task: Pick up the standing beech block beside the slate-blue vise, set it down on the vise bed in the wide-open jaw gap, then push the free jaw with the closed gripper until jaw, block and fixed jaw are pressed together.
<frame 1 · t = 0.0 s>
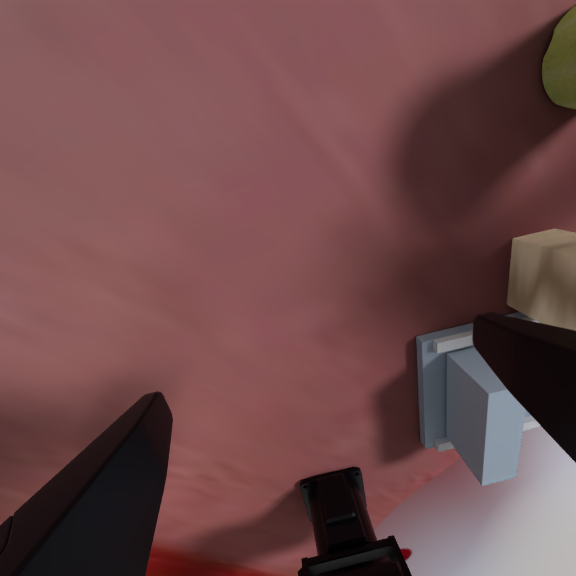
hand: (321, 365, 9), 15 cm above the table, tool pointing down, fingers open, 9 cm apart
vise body: (547, 361, 29), on the table
free jaw: (483, 413, 26), point 4 cm above the table, slide at 0.0 cm
block: (529, 268, 25), on the table
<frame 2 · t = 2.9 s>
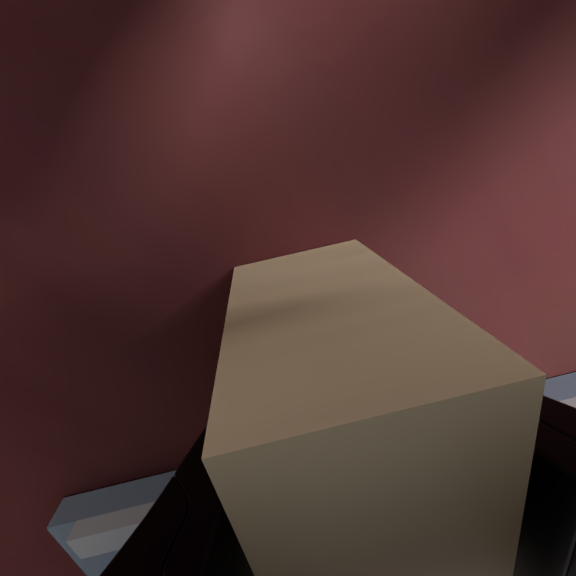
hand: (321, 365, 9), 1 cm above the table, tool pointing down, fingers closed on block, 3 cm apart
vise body: (415, 518, 14), on the table
block: (313, 341, 10), on the table, touching gripper
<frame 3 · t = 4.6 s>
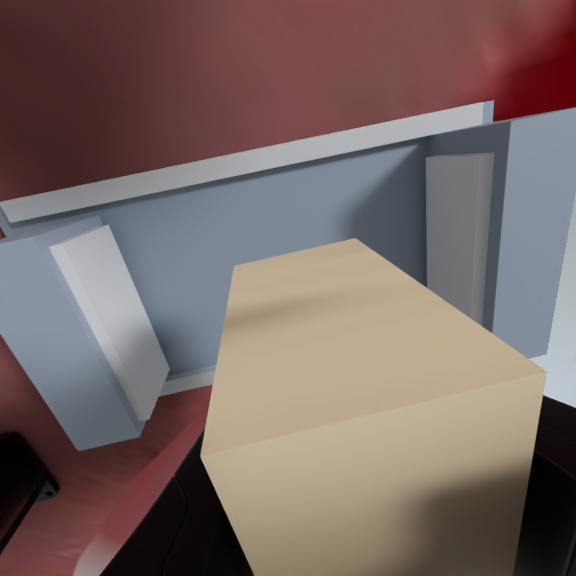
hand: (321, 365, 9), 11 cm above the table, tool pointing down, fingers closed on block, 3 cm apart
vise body: (272, 265, 19), on the table
free jaw: (93, 328, 15), point 4 cm above the table, slide at 0.0 cm
block: (312, 340, 10), point 10 cm above the table, touching gripper
when the fingers open (3 cm above the table, at t = 6.3 s): block stays where it is, resting on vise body.
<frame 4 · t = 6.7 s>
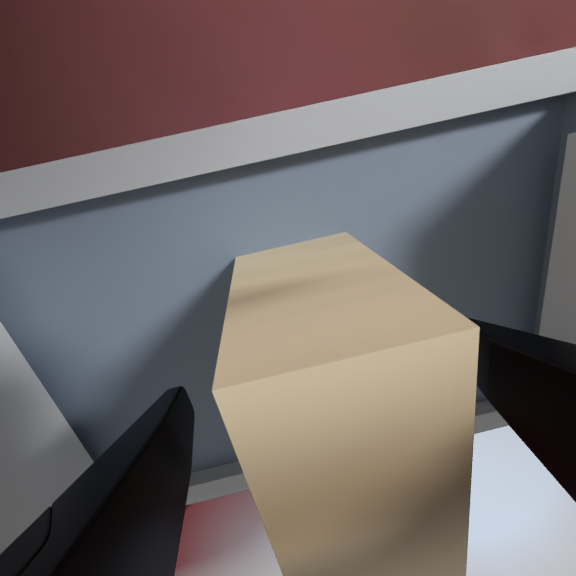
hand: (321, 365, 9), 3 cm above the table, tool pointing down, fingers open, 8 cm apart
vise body: (278, 319, 11), on the table
block: (307, 326, 11), point 1 cm above the table, touching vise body
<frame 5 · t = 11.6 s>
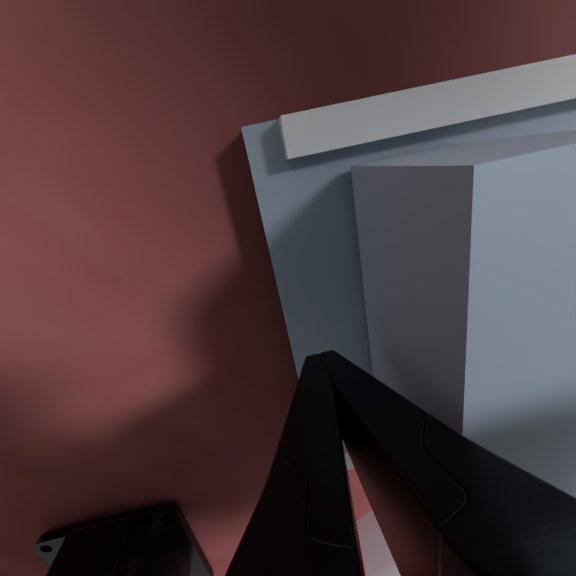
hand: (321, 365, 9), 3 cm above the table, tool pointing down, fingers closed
free jaw: (464, 352, 8), point 4 cm above the table, slide at 0.7 cm, touching gripper
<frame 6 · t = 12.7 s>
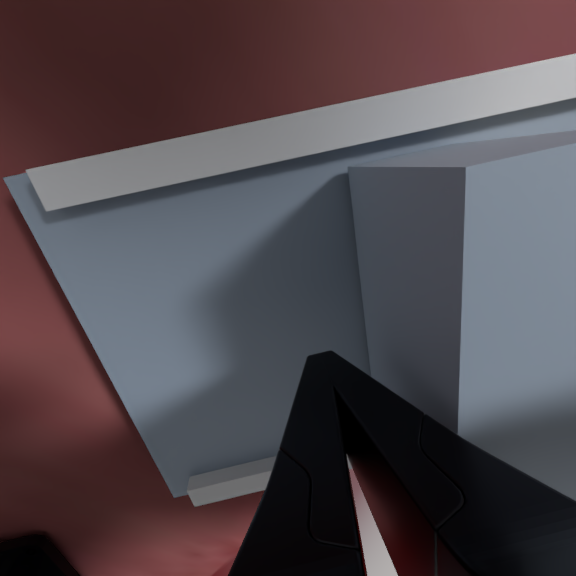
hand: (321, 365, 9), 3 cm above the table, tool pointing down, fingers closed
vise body: (457, 282, 12), on the table
free jaw: (461, 352, 8), point 4 cm above the table, slide at 6.9 cm, touching gripper
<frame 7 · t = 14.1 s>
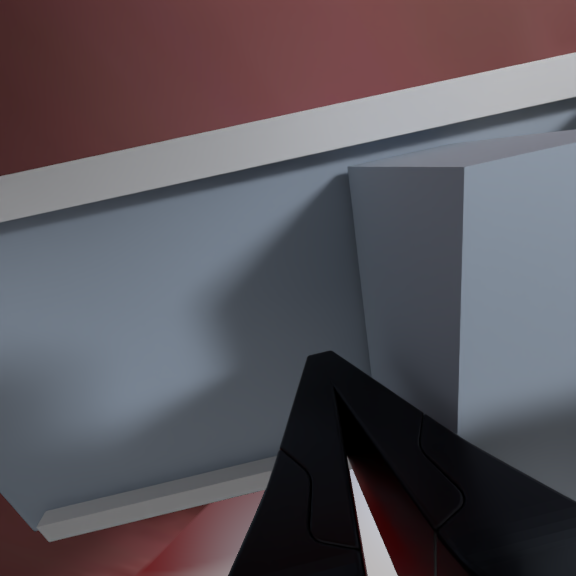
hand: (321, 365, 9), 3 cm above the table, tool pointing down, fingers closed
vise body: (304, 317, 11), on the table
free jaw: (462, 352, 8), point 4 cm above the table, slide at 12.9 cm, touching block, gripper
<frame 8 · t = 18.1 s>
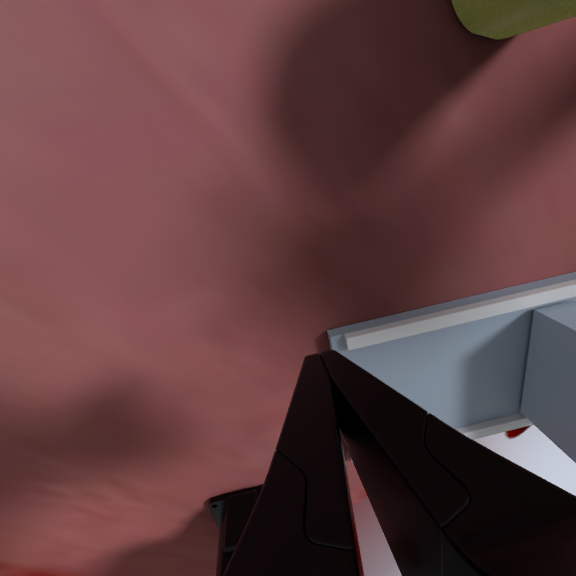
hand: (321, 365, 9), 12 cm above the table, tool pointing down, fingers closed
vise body: (491, 360, 25), on the table
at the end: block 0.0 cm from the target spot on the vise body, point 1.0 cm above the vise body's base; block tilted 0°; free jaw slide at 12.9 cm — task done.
